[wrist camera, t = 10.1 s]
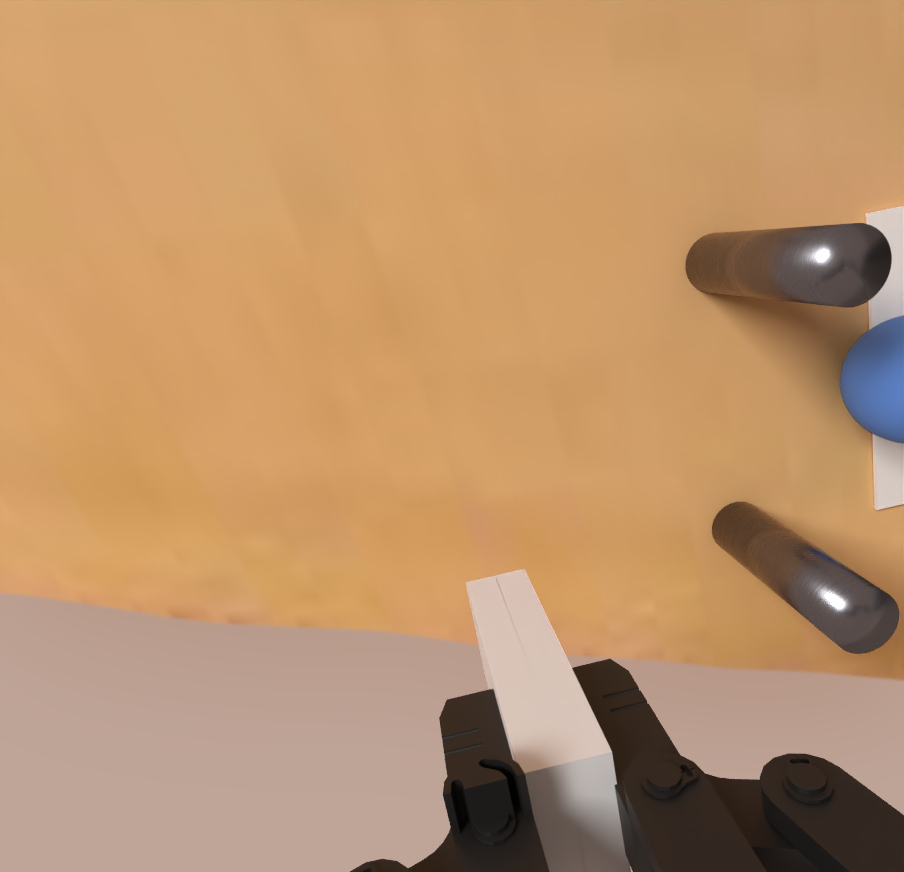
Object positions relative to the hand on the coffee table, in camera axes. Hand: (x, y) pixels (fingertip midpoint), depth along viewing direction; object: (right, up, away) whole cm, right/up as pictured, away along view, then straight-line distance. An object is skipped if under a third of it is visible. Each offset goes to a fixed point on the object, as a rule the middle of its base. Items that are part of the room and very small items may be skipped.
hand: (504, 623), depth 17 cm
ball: (+18, +7, +12) cm, 23 cm away
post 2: (+12, 0, +16) cm, 20 cm away
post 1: (+10, +12, +12) cm, 20 cm away
